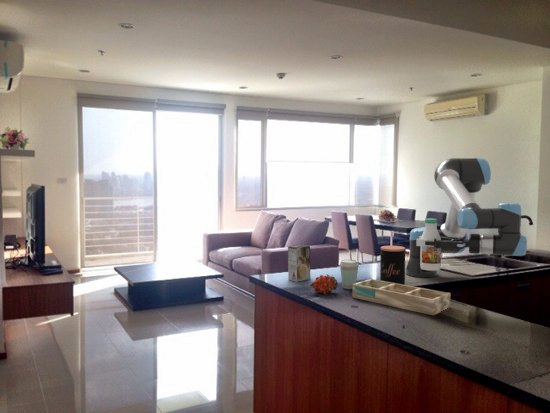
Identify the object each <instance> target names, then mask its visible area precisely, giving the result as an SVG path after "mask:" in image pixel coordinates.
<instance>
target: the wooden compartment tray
mask: <svg viewBox="0 0 550 413" xmlns="http://www.w3.org/2000/svg"><path fill="white" fill-rule="evenodd" d="M351 290H352V292H351V293H352V294H351V295H352V298H354V299H358V300H363V301H367V302H372V303H376V304H380V305H386V306H389V307H394V308H398V309H403V310H407V311H413V312H417V313H421V314H426V315H431V316H436V315H437V314H440V313H442V312H444V311H446V310H448V309H450V308H451V292H445V291H440V290H434V289H429V288H424V287H418V286H411V285H407V284H405V285H402V284H397V283H391V282H385V281H380V280H378V279H374V278H373V279H372V278H368V279H366V280H362V281H359V282H356V283H355V284H353V287H352V289H351ZM449 307H450V308H449ZM447 308H448V309H447ZM445 309H446V310H445ZM443 310H444V311H443ZM441 311H442V312H441Z"/></svg>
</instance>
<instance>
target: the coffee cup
mask: <svg viewBox="0 0 550 413" xmlns="http://www.w3.org/2000/svg"><path fill="white" fill-rule="evenodd" d="M339 262H340V263H339V267H340V277H341V285H342V288H343V289H345V290H352V287H353V284H355V283H357V279H358V273H359V272H358V271H359V265H360V264H359V261H358V260H356V259H348V258H347V259H346V258H345V259H341V260H340V261H339Z"/></svg>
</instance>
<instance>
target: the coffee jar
mask: <svg viewBox="0 0 550 413" xmlns="http://www.w3.org/2000/svg"><path fill="white" fill-rule="evenodd" d="M379 254H380V256H379V257H380V260H379V261H380V263H379V264H380V266H379V267H380V268H379V269H380V270H379V271H380V273H379V278H380V281H385V282H391V283H397V284H402V285H406V247H404V246H402V245H401V246H400V245H383V246H380V252H379Z"/></svg>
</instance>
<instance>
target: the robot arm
mask: <svg viewBox="0 0 550 413" xmlns="http://www.w3.org/2000/svg"><path fill="white" fill-rule="evenodd" d="M491 174H492V172H491V166H490V163H489V162H488V160H487V159H485V158H481V157H479V158H478V157H474V158H472V157H469V158H468V157H464V158H462V157H460V158H458V157H457V158H455V157H453V158H452V157H451V158H447V159H445V160H442V161H441V162H440V163H439V164H438V165H437V166H436V168H435V170H434V175H433V176H434V181H435V183H436V185H437V186H438V188H440V189H441V190H443V191H444V192H445V194H446V196H447V197H448V199H449V200H450V202H451V205H450V208H449V210H448V214H447V218H446V220H445V222H444V223H443V224H441V226H440V229H437V230H438V233H439V235H440V238H441V240H436V238H434V240H432V239H421V237H422V234H423V232H424V230H425V226H421V227H416V228H413V229H411V231H410V232H409V233H410V234H409V258H408V261H407V262H408V263H407V265H406V266H405V275H407V276H410V277H415V278H416V277H417V278H433V277H437V276H438V274H439V273H438V271H439V270H436V271H429V270H423V269H421V267H420V252H421V246H428V247H435V248H441V254H461V253H463V252H465V251H466V249H467V248H468V252H469V253H470V254H477V255H479V254H480V253H481V254H482V255H486V256H491V255H495V256H509V257H510V256H512V257H514V256H515V257H516V256H517V257H523V256H525V255H526V254H527V248H528V246H527V245H528V244H527V242H528V241H527V240H528V239H527V238H528V237H527V236H526V235H523V234H521V227H522V222H521V221H522V208H521V204H519V203H518V202H517V203H516V202H500V203H498V207H493V208H492V207H491V208H481V206H479V204H478V203H477V201H476V200H475V196H476V193H479V192H480V191H481V189H482V186H486V185H489V183H490V182H491V177H492V176H491ZM487 229H488V230H490V229H493V230H494V229H497V234H493V233H492V234H491V233H482V234H480V233H470V234H469V236H468V233H467V231H466V230H487Z"/></svg>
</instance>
